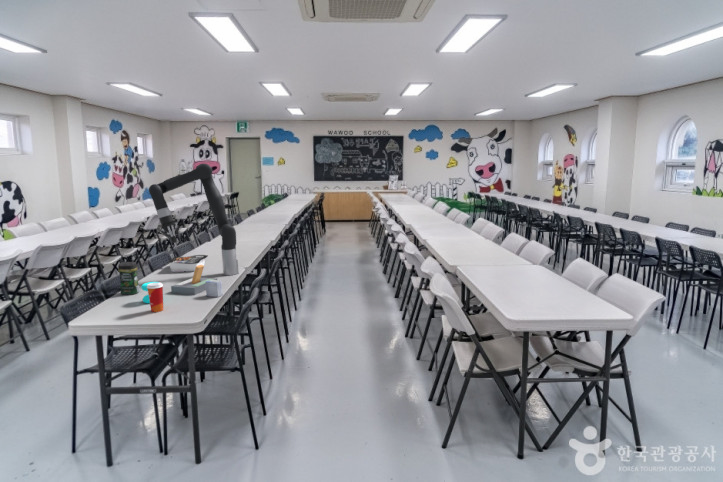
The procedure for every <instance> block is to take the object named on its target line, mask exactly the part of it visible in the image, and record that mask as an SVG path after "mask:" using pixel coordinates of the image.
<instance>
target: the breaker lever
mask: <svg viewBox="0 0 723 482" xmlns="http://www.w3.org/2000/svg"><path fill="white" fill-rule="evenodd" d="M204 267H205V265H204V266H203V265H199V266H196V268H195V271H193V275H192V278H193V279H192V282H191V284H196V283H199V282H200V278H201V277H202V274H203V271H204Z"/></svg>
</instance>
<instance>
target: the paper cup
mask: <svg viewBox="0 0 723 482" xmlns="http://www.w3.org/2000/svg"><path fill="white" fill-rule="evenodd" d="M156 282H157V283H150V284H148V285H147V288H148V291H147V293H148V294H149V300H150V303H149V306H150V311H151V312H152V313H159V312H162V311H164V285H163V283H162V282H159V281H156ZM158 282H159V283H158ZM148 294H147V295H148Z"/></svg>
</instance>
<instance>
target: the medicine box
mask: <svg viewBox="0 0 723 482" xmlns="http://www.w3.org/2000/svg"><path fill="white" fill-rule="evenodd" d="M205 283H206V290H205V291H206V292H205V293H206V294H205V295H206V297H212V298H220V297H222V296H223V294H224V293H223V292H224V291H223V283H222V280H221V279H220V280H219V279H217V280H208V281H206V282H205ZM219 296H220V297H219Z"/></svg>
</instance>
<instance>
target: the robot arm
mask: <svg viewBox="0 0 723 482" xmlns="http://www.w3.org/2000/svg"><path fill="white" fill-rule="evenodd" d="M198 180H200V182H201V184H202V187H203V191H204V194H205V197H206V200H207V202H208V205H209V209H210V210H211V213H212V214H213V216H214V219H215V222H216V226H217V228H218V234H219V235H220V236H221V246H220V248H221V258H222V259H221V260H222V273H223V275H224V276H235V275H237V274H239V261H238V259H237V247H236V246H237V232H236V229H235V227H234V226H233V225H232V224H230V221H229V219H228V217H227V211H226V205H225V202H224V199H223V197H222V194H221V192H220V190H219V189H218V187H217V185H216V183H215V180H214V177H213V168H212V166H210V165H209V164H208V163H200V164H198V165H197V166H196V168H193V169H192V170H190V171H188V172H185V173H182V174H178V175H175V176H172V177H170V178H167V179H165V180H164V181H162V182H159V183H155V184H151V185H150V186H149V187H148V193H149V195H150V197H151V200H152V201H153V204H154V208H155V211H156V215H157V217H158V220H159V223H160V224H161V229H160V230H159V233H160V234H162V235H163V236H164V237H166V238H170V241H171V243H172V244H175V243H177V242H178V239H177V237H176V235H178V234H179V231H180V227H181V225H178V224H176V223H175V221H174V218H173V216H172V213H171V210H170V208H169V206H168V203H167V201H166V199H165V197H164V194H166V193H168V192H170V191H173V190H176V189H178V188H180V187H183V186H185V185H188V184H190V183H192V182H195V181H198Z"/></svg>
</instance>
